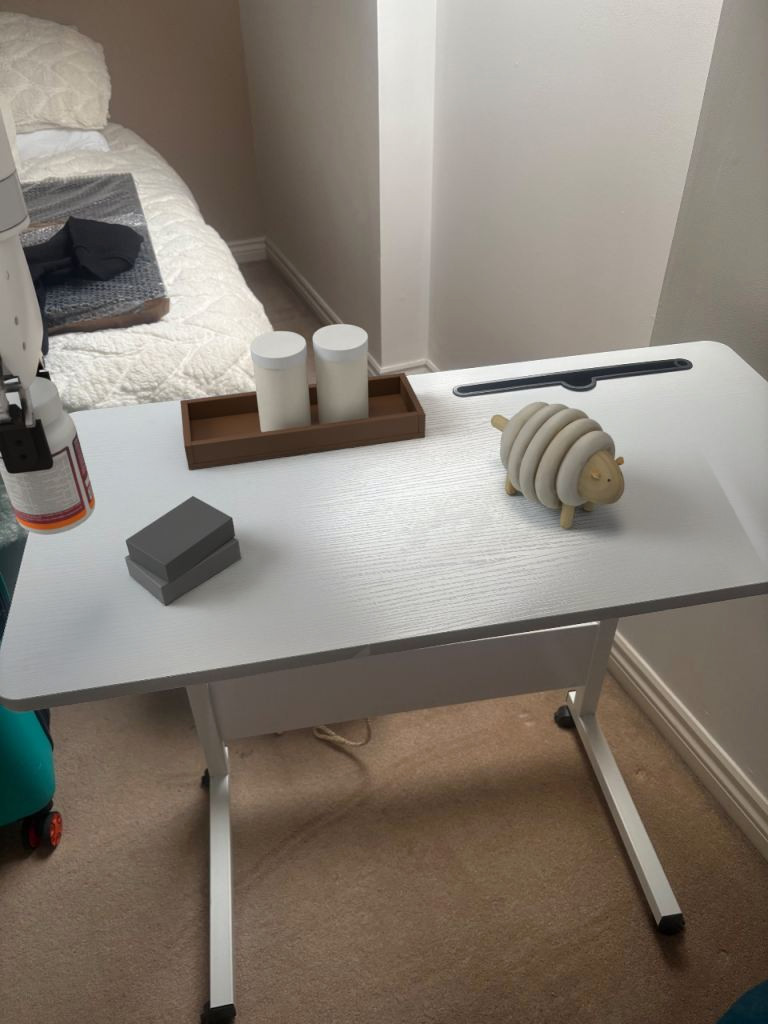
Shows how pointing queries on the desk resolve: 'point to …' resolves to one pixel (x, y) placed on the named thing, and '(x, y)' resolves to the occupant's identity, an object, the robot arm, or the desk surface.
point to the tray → (238, 438)
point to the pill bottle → (51, 470)
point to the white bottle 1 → (281, 380)
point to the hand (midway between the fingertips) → (35, 441)
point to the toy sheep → (559, 459)
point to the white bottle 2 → (341, 373)
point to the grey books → (182, 549)
